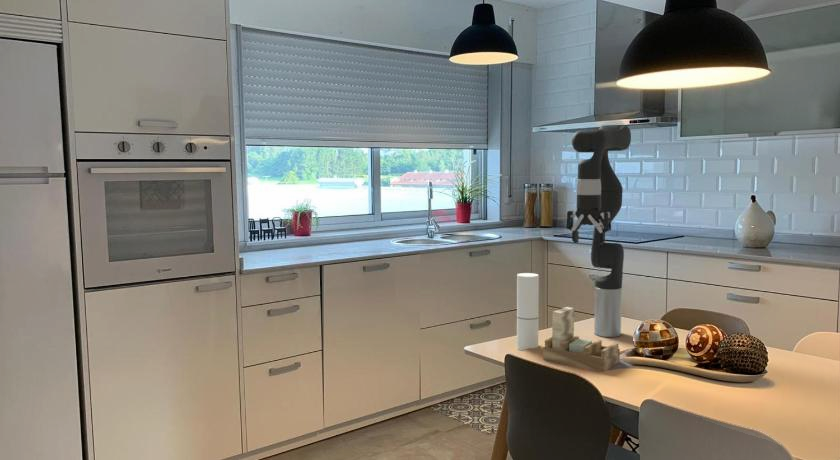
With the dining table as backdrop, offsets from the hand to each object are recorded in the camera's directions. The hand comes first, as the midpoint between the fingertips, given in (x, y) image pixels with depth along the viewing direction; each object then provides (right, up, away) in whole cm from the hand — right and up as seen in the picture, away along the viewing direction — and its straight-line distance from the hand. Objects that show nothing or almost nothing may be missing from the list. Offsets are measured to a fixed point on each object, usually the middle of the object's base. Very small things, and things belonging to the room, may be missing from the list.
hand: (588, 243), depth 209 cm
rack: (-4, -37, -8) cm, 38 cm away
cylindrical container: (-18, -36, +10) cm, 41 cm away
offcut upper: (-5, -33, -8) cm, 34 cm away
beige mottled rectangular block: (-9, -36, -3) cm, 37 cm away
